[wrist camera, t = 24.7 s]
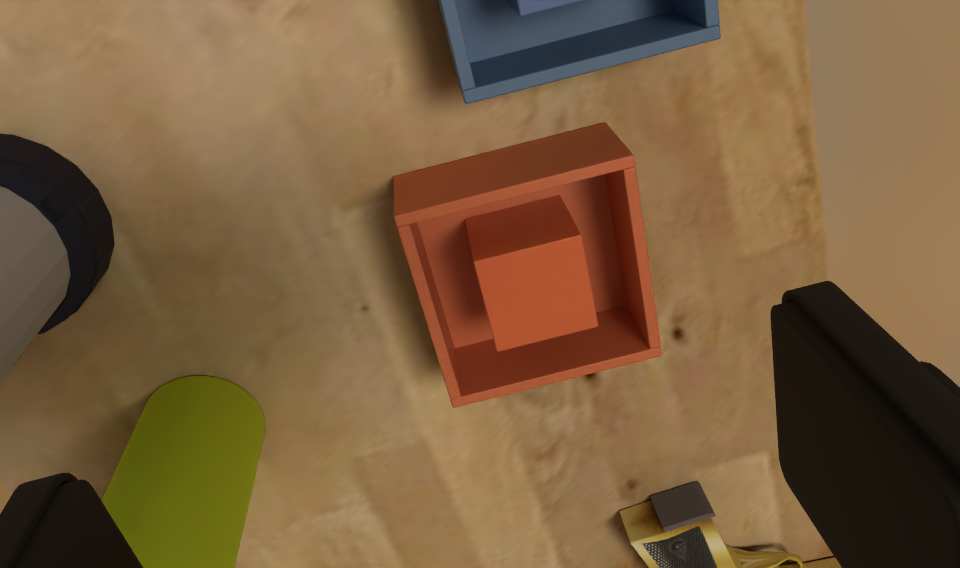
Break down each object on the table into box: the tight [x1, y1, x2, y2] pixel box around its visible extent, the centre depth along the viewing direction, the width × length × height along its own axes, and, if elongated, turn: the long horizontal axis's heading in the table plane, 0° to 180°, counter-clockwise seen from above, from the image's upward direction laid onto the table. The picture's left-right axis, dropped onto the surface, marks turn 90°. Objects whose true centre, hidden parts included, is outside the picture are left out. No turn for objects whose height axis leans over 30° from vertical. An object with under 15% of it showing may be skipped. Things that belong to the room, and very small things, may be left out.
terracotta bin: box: [393, 122, 662, 408], centre depth 34 cm, size 10×10×4 cm
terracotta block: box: [464, 195, 598, 352], centre depth 34 cm, size 4×4×4 cm
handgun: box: [619, 482, 842, 568], centre depth 46 cm, size 2×19×12 cm
